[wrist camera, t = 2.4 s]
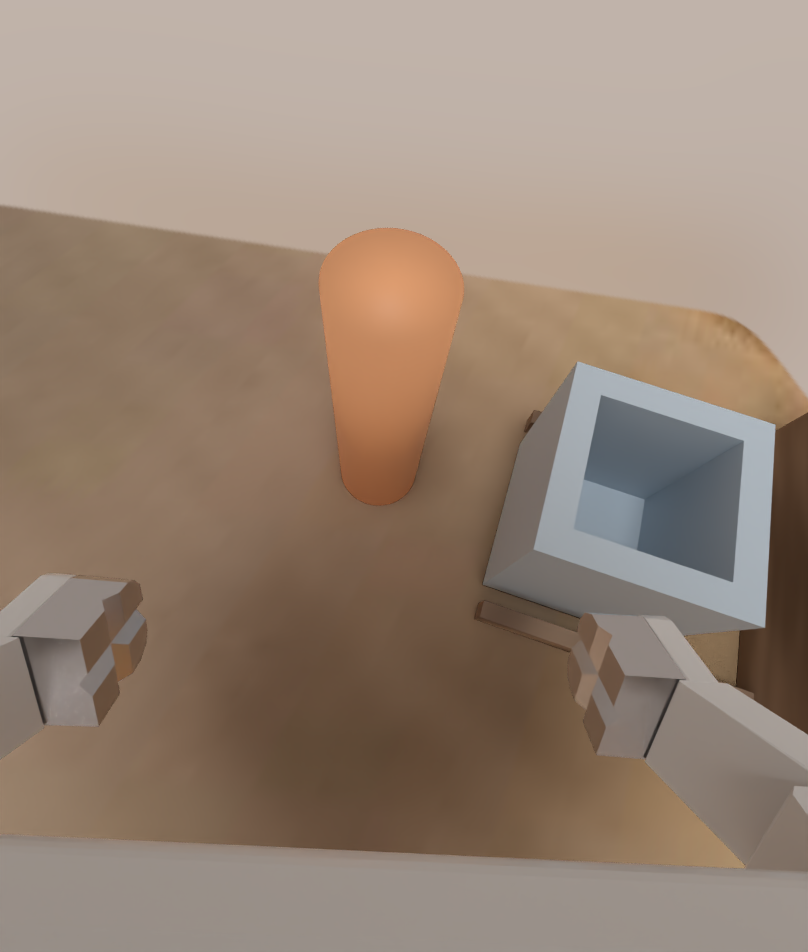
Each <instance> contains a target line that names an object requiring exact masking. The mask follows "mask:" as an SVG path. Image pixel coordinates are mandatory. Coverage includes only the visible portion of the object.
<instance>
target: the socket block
mask: <svg viewBox="0 0 808 952" xmlns="http://www.w3.org/2000/svg"><path fill="white" fill-rule="evenodd" d="M774 445H775V424H772V423H769V422H766V421H763V420H759V419H756V418H753V417H750V416H747V415H744V414H741V413H738V412H734V411H731V410H728V409H725V408H722V407H719V406H716V405H712V404H709V403H706V402H703V401H700V400H697V399H694V398H691V397H687V396H684V395H681V394H678V393H675V392H672V391H669V390H665V389H662V388H659V387H656V386H653V385H650V384H647V383H644V382H640V381H637V380H634V379H631V378H628V377H625V376H622V375H618V374H615V373H612V372H609V371H606V370H603V369H600V368H597V367H593V366H590V365H587V364H584V363H581V362H577V363H576V364H575V366H574V367H573V369H572V370H571V372H570V373H569V374H568V376H567V377H566V379H565V380H564V382H563V383H562V384H561V386H560V387H559V389H558V390H557V392H556V393H555V394H554V396H553V397H552V399H551V400H550V402H549V403H548V404H547V406H546V407H545V409H544V410H543V412H542V413H541V414H540V416H539V417H538V419H537V420H536V422H535V423H534V424H533V426H532V427H531V429H530V430H529V432H528V433H527V434H526V436H525V437H524V439H523V440H522V442H521V443H520V446H519V450H518V453H517V457H516V461H515V465H514V468H513V472H512V476H511V480H510V483H509V487H508V491H507V495H506V498H505V502H504V506H503V510H502V513H501V517H500V521H499V525H498V528H497V532H496V536H495V540H494V543H493V547H492V551H491V555H490V558H489V562H488V566H487V570H486V573H485V577H484V581H483V585H485V586H488V587H491V588H494V589H497V590H500V591H503V592H506V593H509V594H512V595H515V596H517V597H520V598H523V599H526V600H529V601H532V602H535V603H538V604H541V605H544V606H547V607H549V608H552V609H555V610H558V611H561V612H564V613H567V614H570V615H573V616H576V617H579V618H581V617H582V616H583V614H584V613H585V612H587V613H602V614H617V615H632V616H637V615H650V616H665V617H667V618H668V619H670V620H672V622H673V623H674V624H675V626H676V627H677V628H678V630H679V631H680V632H681V634H682V635H683V636H684V635H695V634H705V633H716V632H726V631H737V630H748V629H758V628H765V618H766V599H767V580H768V560H769V541H770V522H771V503H772V483H773V464H774Z"/></svg>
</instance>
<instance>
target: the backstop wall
mask: <svg viewBox="0 0 808 952" xmlns="http://www.w3.org/2000/svg"><path fill="white" fill-rule="evenodd" d="M541 413H542V412H539V411H536V410H534V411H533V413H532V414H531V416H530V417H529V419H528V420H527V424H526V428H525V432H527V433H528V432H529V430H530V429H531V427H532V426H533V424H534V423H535V422H536V420H537V419H538V417H539V416H540V414H541ZM475 619H476V620H479V621H482V622H484V623H487V624H490V625H493V626H496V627H499V628H502V629H505V630H507V631H510V632H513V633H516V634H519V635H522V636H525V637H528V638H531V639H533V640H536V641H539V642H542V643H545V644H548V645H551V646H554V647H556V648H559V649H562V650H565V651H568V652H570V651H571V648H572V647H573V646H574V645H576V644H577V643H578V642H579V641H580V640H582V639H581V637H580V635H579V633H578V632H575V631H572V630H569V629H566V628H563V627H560V626H558V625H555V624H552V623H549V622H546V621H543V620H540V619H537V618H534V617H531V616H529V615H526V614H523V613H520V612H517V611H514V610H511V609H508V608H505V607H502V606H500V605H497V604H494V603H491V602H488V601H485V600H484V601H482V602H480V603H479V605H478V609H477V612H476V616H475ZM718 683H723V682H720V681H718ZM732 687H734V686H732ZM734 688H735V689H737V690H739V691H740V692H742V693H743V694H745V695H746V696H748V697H749V698H751V699H753V700H754V701H756V702H757V703H759V704H760V705H762V706H764V707H765V708H767V709H768V710H770V711H771V712H773V713H775V714H776V715H778V716H779V717H781V718H782V719H784V720H786V721H787V722H789V723H790V724H792V725H793V726H795V727H797V728H798V729H800V730H801V731H803V732H804V733H806V734H807V735H808V413H806V414H804V415H803V416H801V417H799V418H797V419H796V420H794V421H792V422H790V423H789V424H787V425H785V426H783V427H782V428H780V429H778V430H776V431H775V445H774V464H773V483H772V503H771V522H770V541H769V560H768V580H767V599H766V618H765V628H758V629H748V630H740V643H739V657H738V671H737V686H736V687H734Z"/></svg>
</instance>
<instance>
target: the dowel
mask: <svg viewBox="0 0 808 952" xmlns="http://www.w3.org/2000/svg"><path fill="white" fill-rule="evenodd" d="M319 292H320V301H321V309H322V317H323V326H324V334H325V342H326V351H327V359H328V367H329V376H330V384H331V392H332V401H333V409H334V417H335V425H336V434H337V442H338V450H339V459H340V467H341V475H342V480H343V483H344V485H345V487H346V488H347V490H348V491H349V492H350V493H351V494H352V495H353V496H354V497H355V498H356V499H358V500H360V501H361V502H364V503H366V504H370V505H387V504H391V503H394V502H396V501H398V500H400V499H401V498H402V497H404V496H405V495H406V494H407V493H408V491H409V490H410V489H411V487H412V485H413V483H414V479H415V476H416V472H417V468H418V465H419V461H420V457H421V453H422V450H423V446H424V442H425V439H426V435H427V431H428V427H429V424H430V420H431V416H432V413H433V409H434V405H435V401H436V398H437V394H438V390H439V387H440V383H441V379H442V375H443V372H444V368H445V364H446V360H447V357H448V353H449V349H450V346H451V342H452V338H453V334H454V331H455V327H456V323H457V320H458V316H459V312H460V308H461V305H462V301H463V297H464V282H463V278H462V274H461V272H460V269H459V267H458V265H457V263H456V262H455V260H454V259H453V258H452V256H451V255H450V254H449V253H448V252H447V251H446V250H445V249H444V248H443V247H442V246H440V245H439V244H438V243H436V242H435V241H433V240H431V239H430V238H427V237H426V236H424V235H421V234H418V233H416V232H412V231H409V230H404V229H398V228H377V229H371V230H366V231H362V232H359V233H357V234H354V235H352V236H350V237H348V238H346V239H345V240H343V241H342V242H340V243H339V244H338V245H337V246H335V247H334V248H333V249H332V250H331V252H330V253H329V254H328V255H327V257H326V259H325V260H324V262H323V264H322V267H321V270H320V274H319Z"/></svg>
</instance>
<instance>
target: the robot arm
mask: <svg viewBox="0 0 808 952" xmlns="http://www.w3.org/2000/svg"><path fill="white" fill-rule="evenodd" d="M142 600H143V597H142V592H141V587H140V584H139V583H138V582H136V581H135V580H128V579H117V578H106V577H95V576H85V575H78V576H77V575H71V574H58V573H48V574H44V575H41V576H40V577H39V578H38V579H36V580H35V581H34V582H33V583H32V584H31V585H30V586H28V587H27V588H26V589H25V590H24V591H23V592H22V593H21V594H19V595H18V596H17V597H16V598H15V599H14V600H13V601H12V602H10V603H9V604H8V605H7V606H6V607H5V608H4V609H3V610H1V611H0V760H1V759H2V758H3V757H5V756H6V755H8V754H9V753H10V752H12V751H13V750H14V749H16V748H17V747H19V746H20V745H21V744H23V743H24V742H26V741H27V740H28V739H30V738H31V737H32V736H34V735H35V734H37V733H38V732H39V731H41V730H42V729H43V728H44V725H59V726H95V727H99V725H100V724H101V722H102V721H103V719H104V718H105V716H106V715H107V713H108V711H109V710H110V708H111V707H112V705H113V704H114V702H115V701H116V699H117V697H118V696H119V694H120V690H119V685H118V682H119V681H121V680H122V679H124V678H126V677H127V676H129V675H130V674H132V673H133V672H134V671H135V669H136V667H137V666H138V664H139V662H140V661H141V658H142V655H143V652H144V649H145V646H146V642H147V624H146V619H145V618H144V617H143V616H142V615H141V614H140V613H139V612H138V611H137V610H136V608H137V607H138V606H139V604H140V603H141V602H142ZM577 631H578V633H579V635H580V637H581V639H582V640H580V641H579V642H578V643H577V644H576V645H574V646H573V647H572V648H571V651H570V655H569V659H568V681H569V686H570V690H571V693H572V695H573V698H574V700H575V701H576V702H577V703H578V704H579V705H580V706H581V707H583V708H584V709H585V710H586V713H585V716H584V719H583V723H584V726H585V728H586V731H587V733H588V736H589V738H590V741H591V743H592V746H593V748H594V751H595V753H596V755H601V756H613V757H624V758H636V759H646V760H645V763H646V764H647V765H648V766H649V767H650V768H651V769H652V770H653V771H654V772H655V773H656V774H657V775H658V776H659V777H660V778H661V779H662V780H663V781H664V782H665V783H666V784H667V785H668V786H669V787H670V788H671V789H672V790H673V791H674V792H675V794H676V795H677V796H678V797H679V798H680V799H681V800H682V801H683V802H684V803H685V804H686V805H687V806H688V807H689V808H690V809H691V810H692V811H693V812H694V813H695V814H696V815H697V816H698V817H699V818H700V819H701V820H702V821H703V822H704V823H705V824H706V825H707V826H708V827H709V829H710V830H711V831H712V832H713V833H714V834H715V835H716V836H717V837H718V838H719V839H720V840H721V841H722V842H723V843H724V844H725V845H726V846H727V847H728V848H729V849H730V850H731V851H732V852H733V853H734V854H735V855H736V856H737V857H738V858H739V859H740V860H741V861H742V862H743V863H744V865H745V867H744V868H743V869H742V868H720V867H699V866H678V865H657V864H636V863H615V862H593V861H570V860H548V859H526V858H504V857H482V856H460V855H438V854H416V853H395V852H375V851H354V850H333V849H312V848H291V847H270V846H249V845H228V844H207V843H186V842H165V841H143V840H122V839H101V838H80V837H58V836H37V835H16V834H0V952H808V735H807V734H806V733H804V732H803V731H801V730H800V729H798V728H797V727H795V726H793V725H792V724H790V723H789V722H787V721H786V720H784V719H782V718H781V717H779V716H778V715H776V714H775V713H773V712H771V711H770V710H768V709H767V708H765V707H764V706H762V705H760V704H759V703H757V702H756V701H754V700H753V699H751V698H749V697H748V696H746V695H745V694H743V693H742V692H740V691H739V690H737V689H735V688H734V687H732V686H731V685H729V684H728V683H718V681H717V680H716V679H715V677H714V676H713V675H712V673H711V672H710V671H709V669H708V668H707V667H706V665H705V664H704V663H703V661H702V660H701V659H700V657H699V656H698V655H697V653H696V652H695V651H694V649H693V648H692V647H691V645H690V644H689V643H688V642H687V640H686V639H685V638H684V636H683V635H682V634H681V632H680V631H679V630H678V628H677V627H676V626H675V624H674V623H673V622H672V620H670V619H668V618H667V617H665V616H650V615H637V616H632V615H617V614H602V613H587V612H585V613H584V614H583V616H582V617H581V618H580V621H579V624H578V627H577Z"/></svg>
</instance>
